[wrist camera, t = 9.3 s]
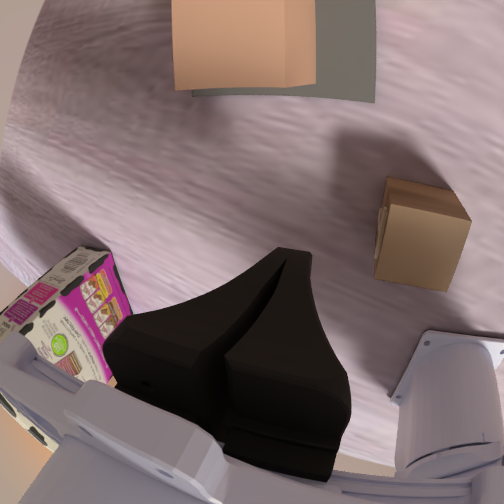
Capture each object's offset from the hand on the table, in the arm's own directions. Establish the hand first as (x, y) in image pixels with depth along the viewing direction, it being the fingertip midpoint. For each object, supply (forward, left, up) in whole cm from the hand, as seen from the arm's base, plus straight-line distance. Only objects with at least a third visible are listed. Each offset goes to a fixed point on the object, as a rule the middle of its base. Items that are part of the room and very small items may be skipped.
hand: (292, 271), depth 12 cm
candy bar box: (-12, +19, -8) cm, 24 cm away
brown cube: (0, -6, -7) cm, 9 cm away
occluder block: (+12, +2, -7) cm, 14 cm away
